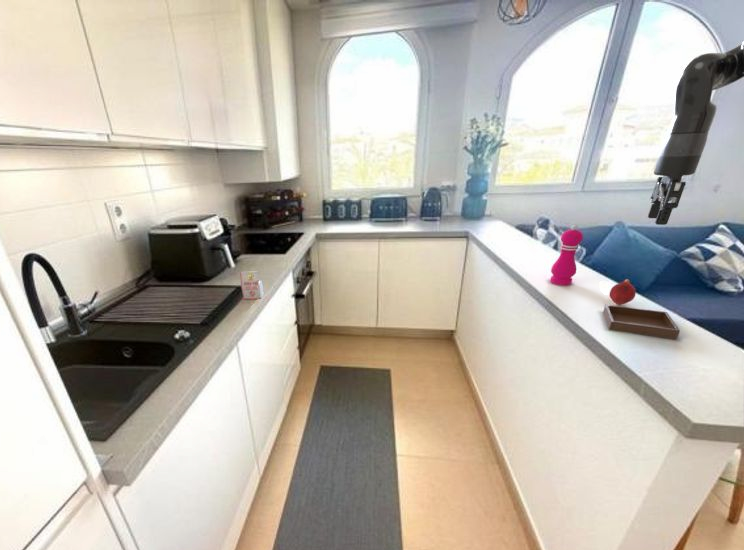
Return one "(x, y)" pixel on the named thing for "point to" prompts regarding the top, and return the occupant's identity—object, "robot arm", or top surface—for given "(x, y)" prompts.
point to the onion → (622, 293)
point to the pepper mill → (566, 257)
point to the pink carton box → (251, 285)
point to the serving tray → (640, 321)
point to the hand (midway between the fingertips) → (656, 221)
